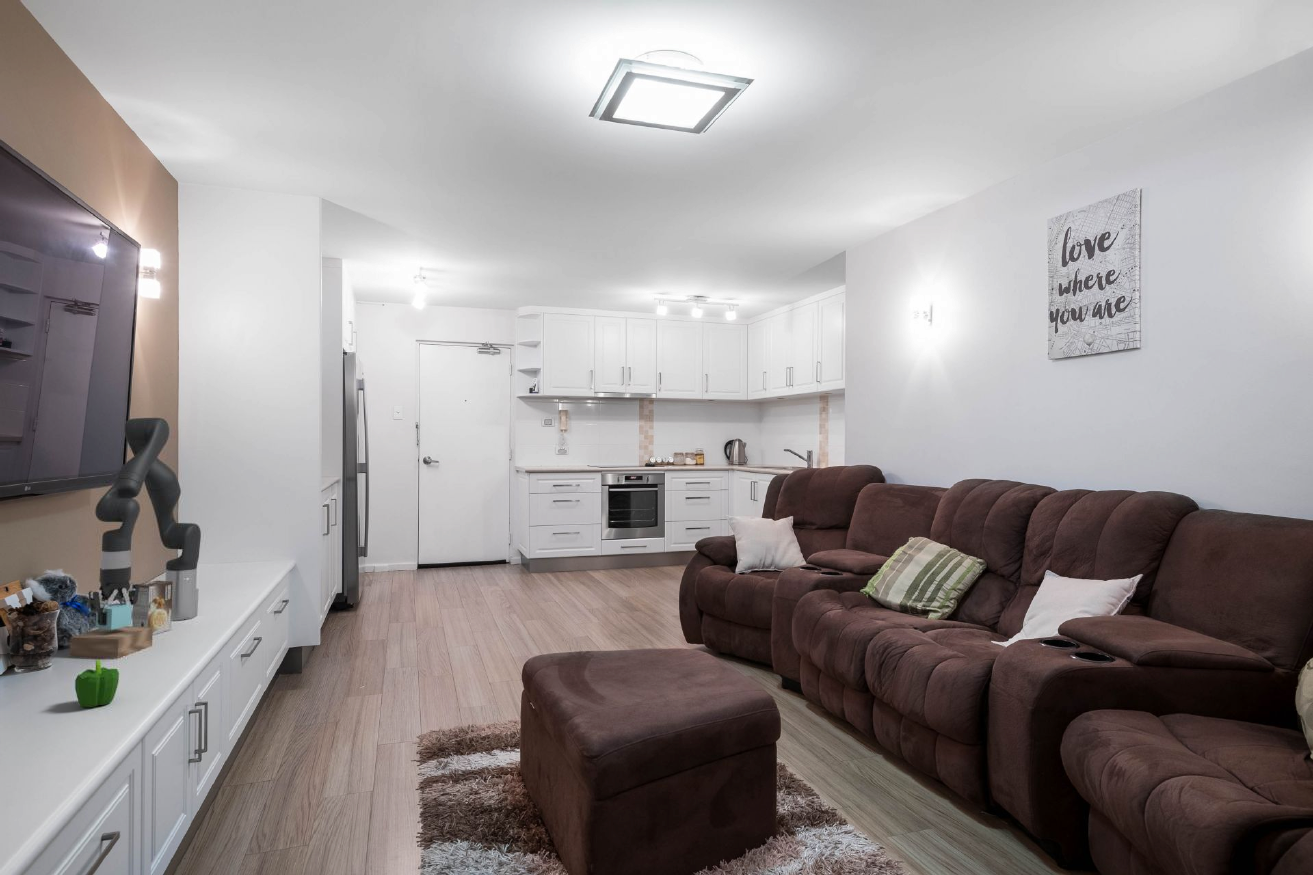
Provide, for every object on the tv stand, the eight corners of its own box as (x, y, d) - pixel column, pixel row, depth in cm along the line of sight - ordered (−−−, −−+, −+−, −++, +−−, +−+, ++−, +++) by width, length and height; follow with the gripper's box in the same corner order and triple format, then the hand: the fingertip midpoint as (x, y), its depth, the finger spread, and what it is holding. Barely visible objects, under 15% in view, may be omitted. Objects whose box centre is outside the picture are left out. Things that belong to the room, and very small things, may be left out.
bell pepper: (109, 709, 174) (111, 666, 174) (68, 711, 172) (70, 668, 172) (124, 697, 182) (125, 656, 182) (84, 699, 180) (86, 658, 180)
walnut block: (106, 645, 226) (107, 625, 226) (152, 646, 226) (152, 627, 226) (69, 658, 212) (70, 637, 212) (117, 660, 212) (118, 639, 212)
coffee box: (155, 628, 246) (157, 579, 246) (171, 629, 245) (173, 581, 245) (130, 635, 237) (132, 584, 237) (147, 636, 236) (149, 586, 236)
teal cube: (115, 623, 223) (116, 603, 223) (130, 625, 221) (131, 605, 221) (95, 627, 217) (96, 607, 217) (111, 629, 215) (112, 609, 216)
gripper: (129, 561, 227) (127, 616, 227) (81, 568, 213) (79, 626, 213) (148, 563, 225) (146, 618, 225) (101, 570, 211) (98, 629, 211)
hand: (113, 622), depth 219 cm, fingers closed on teal cube, 6 cm apart
